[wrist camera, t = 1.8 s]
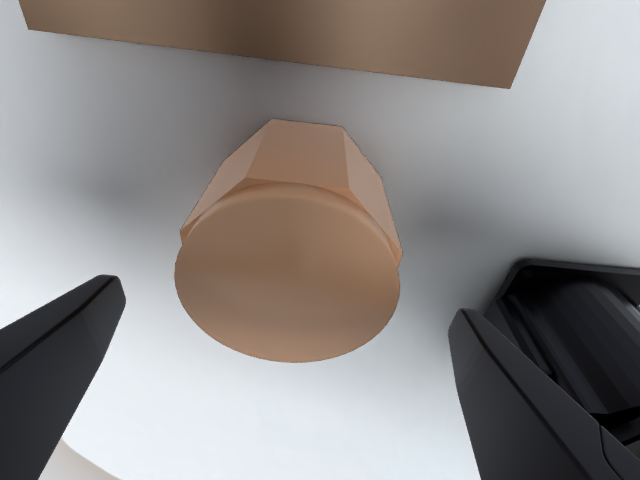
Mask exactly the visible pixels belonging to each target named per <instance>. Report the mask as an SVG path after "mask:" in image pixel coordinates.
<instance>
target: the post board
mask: <svg viewBox="0 0 640 480" xmlns="http://www.w3.org/2000/svg"><path fill="white" fill-rule="evenodd" d="M545 2H546V0H19V3H20V6H21V9H22V12H23V15H24V18H25V21H26V24H27V27H28V30H37V31H45V32H53V33H61V34H69V35H77V36H85V37H93V38H101V39H109V40H117V41H126V42H134V43H142V44H150V45H158V46H166V47H174V48H182V49H190V50H198V51H206V52H215V53H223V54H231V55H239V56H247V57H255V58H263V59H271V60H279V61H287V62H295V63H303V64H312V65H320V66H328V67H336V68H344V69H352V70H360V71H368V72H376V73H384V74H392V75H401V76H409V77H417V78H425V79H433V80H441V81H449V82H457V83H465V84H473V85H481V86H490V87H498V88H506V89H510V88H511V85H512V83H513V80H514V78H515V76H516V73H517V71H518V68H519V66H520V63H521V61H522V58H523V56H524V53H525V51H526V49H527V46H528V44H529V41H530V39H531V36H532V34H533V31H534V29H535V26H536V24H537V22H538V19H539V17H540V14H541V12H542V9H543V7H544V4H545Z"/></svg>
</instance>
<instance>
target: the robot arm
mask: <svg viewBox="0 0 640 480" xmlns="http://www.w3.org/2000/svg"><path fill="white" fill-rule="evenodd" d="M527 269H528V270H527ZM525 270H527V271H525ZM524 271H525V272H524ZM125 304H126V298H125V294H124V291H123V288H122V285H121V282H120V279H119V278H118V277H117V276H114V275H98V276H96V277H94V278H93V279H91V280H89V281H87V282H85V283H84V284H82V285H80V286H78V287H76V288H74V289H73V290H71V291H69V292H67V293H65V294H64V295H62V296H60V297H58V298H56V299H55V300H53V301H51V302H49V303H47V304H46V305H44V306H42V307H40V308H38V309H36V310H35V311H33V312H31V313H29V314H27V315H26V316H24V317H22V318H20V319H18V320H17V321H15V322H13V323H11V324H9V325H8V326H6V327H4V328H2V329H0V480H38V479H39V477H40V475H41V473H42V471H43V469H44V468H45V466H46V464H47V462H48V460H49V458H50V457H51V455H52V453H53V451H54V449H55V447H56V446H57V444H58V442H59V440H60V438H61V436H62V435H63V433H64V431H65V429H66V427H67V425H68V424H69V422H70V420H71V418H72V416H73V414H74V413H75V411H76V409H77V407H78V405H79V403H80V402H81V400H82V398H83V396H84V394H85V392H86V390H87V389H88V387H89V385H90V383H91V381H92V379H93V378H94V376H95V374H96V372H97V370H98V368H99V366H100V364H101V363H102V361H103V358H104V356H105V354H106V352H107V349H108V347H109V344H110V342H111V340H112V337H113V335H114V332H115V330H116V327H117V325H118V322H119V320H120V318H121V315H122V313H123V310H124V308H125ZM639 305H640V270H634V269H624V268H614V267H604V266H594V265H583V264H573V263H563V262H553V261H543V260H533V259H524V260H521V261H519V262H517V263H516V264H515V265H514V266H513V268H512V269H511V271H510V273H509V274H508V276H507V278H506V280H505V281H504V283H503V285H502V287H501V288H500V290H499V292H498V293H497V295H496V297H495V299H494V300H493V302H492V304H491V306H490V307H489V309H488V311H487V313H486V314H485V316H484V317H483V316H482V315H481V314H480V313H479V312H477V311H476V310H473V309H464V308H461V309H459V310H458V311H457V313H456V315H455V317H454V319H453V321H452V323H451V325H450V327H449V330H448V338H449V344H450V350H451V357H452V363H453V369H454V376H455V382H456V387H457V392H458V396H459V400H460V404H461V407H462V411H463V415H464V419H465V422H466V426H467V430H468V433H469V437H470V441H471V444H472V448H473V452H474V455H475V459H476V463H477V466H478V470H479V474H480V477H481V480H640V307H639Z"/></svg>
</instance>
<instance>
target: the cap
mask: <svg viewBox="0 0 640 480" xmlns="http://www.w3.org/2000/svg"><path fill="white" fill-rule="evenodd" d="M180 235H181V241H182V247H181V249H180V251H179V253H178V256H177V260H176V263H175V274H174V277H175V286H176V290H177V293H178V297H179V299H180V301H181V303H182V305H183V307H184V309H185V310H186V312H187V313H188V315H189V316H190V317H191V319H192V320H193V321H194V322H195V323H196V324H197V325H198V326H199V327H200V328H201V329H202V330H203V331H204V332H205V333H207V334H208V335H209V336H211V337H212V338H213V339H215V340H217V341H218V342H220V343H222V344H223V345H225V346H227V347H229V348H231V349H233V350H235V351H238V352H241V353H243V354H246V355H249V356H253V357H256V358H260V359H265V360H270V361H278V362H291V363H299V362H313V361H321V360H325V359H330V358H334V357H337V356H341V355H343V354H346V353H348V352H351V351H353V350H355V349H357V348H359V347H361V346H363V345H364V344H366V343H367V342H368V341H370V340H371V339H373V338H374V337H375V336H376V335H377V334H378V333H380V331H381V330H382V329H383V328H384V327H385V326H386V325H387V323H388V322H389V320H390V319H391V317H392V315H393V313H394V311H395V309H396V306H397V303H398V299H399V291H400V282H399V274H398V270H397V269H398V266H399V263H400V260H401V257H402V254H403V252H402V248H401V245H400V241H399V238H398V234H397V231H396V228H395V224H394V221H393V217H392V214H391V210H390V207H389V203H388V200H387V196H386V193H385V190H384V186H383V183H382V179H381V177H380V176H379V174H378V173H377V172H376V170H375V169H374V168H373V166H372V165H371V164H370V163H369V161H368V160H367V159H366V157H365V156H364V155H363V153H362V152H361V151H360V149H359V148H358V147H357V145H356V144H355V143H354V141H353V140H352V139H351V137H350V136H349V135H348V134H347V132H346V131H345V130H344V128H343V127H339V126H331V125H322V124H313V123H305V122H296V121H287V120H279V119H271V120H270V121H269V122H268V123H266V124H265V125H264V126H263V127H262V128H261V129H260V130H258V131H257V132H256V133H255V134H254V135H253V136H252V137H250V138H249V139H248V140H247V141H246V142H245V143H244V144H242V145H241V146H240V147H239V148H238V149H237V150H236V151H234V152H233V153H232V154H231V155H230V156H229V157H228V158H226V159H225V160H224V161H223V163H222V164H221V166H220V168H219V169H218V171H217V172H216V174H215V176H214V177H213V179H212V180H211V182H210V183H209V185H208V187H207V188H206V190H205V191H204V193H203V195H202V196H201V198H200V199H199V201H198V203H197V204H196V206H195V207H194V209H193V211H192V212H191V214H190V215H189V217H188V219H187V220H186V222H185V223H184V225H183V226H182V228H181V230H180Z"/></svg>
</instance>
